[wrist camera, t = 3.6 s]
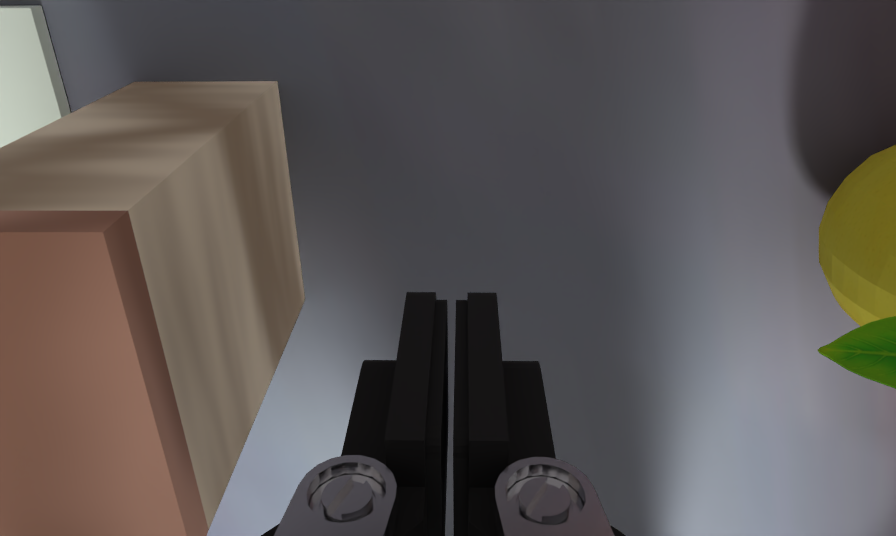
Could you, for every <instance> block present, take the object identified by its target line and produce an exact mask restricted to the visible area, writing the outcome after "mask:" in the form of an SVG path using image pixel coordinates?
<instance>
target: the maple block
mask: <svg viewBox="0 0 896 536" xmlns="http://www.w3.org/2000/svg"><path fill="white" fill-rule="evenodd" d="M304 301H305V294H304V287H303V279H302V271H301V263H300V255H299V247H298V239H297V231H296V223H295V215H294V208H293V200H292V192H291V184H290V176H289V168H288V160H287V152H286V144H285V137H284V129H283V121H282V113H281V105H280V97H279V89H278V81H206V82H133V83H131V84H129V85H127V86H125V87H123V88H121V89H119V90H117V91H115V92H113V93H111V94H109V95H107V96H105V97H103V98H101V99H99V100H97V101H94V102H92V103H90V104H88V105H86V106H84V107H82V108H80V109H78V110H76V111H74V112H72V113H70V114H68V115H66V116H64V117H62V118H60V119H58V120H56V121H54V122H52V123H50V124H48V125H46V126H44V127H42V128H40V129H38V130H36V131H34V132H32V133H30V134H28V135H25V136H23V137H21V138H19V139H17V140H15V141H13V142H11V143H9V144H7V145H5V146H3V147H1V148H0V536H206V535H207V533H208V530H209V528H210V526H211V523H212V521H213V518H214V516H215V514H216V511H217V509H218V506H219V504H220V502H221V499H222V497H223V495H224V492H225V490H226V487H227V485H228V483H229V480H230V478H231V475H232V473H233V471H234V468H235V466H236V464H237V461H238V459H239V456H240V454H241V452H242V449H243V447H244V444H245V442H246V440H247V437H248V435H249V432H250V430H251V428H252V425H253V423H254V421H255V418H256V416H257V413H258V411H259V409H260V406H261V404H262V401H263V399H264V397H265V394H266V392H267V390H268V387H269V385H270V382H271V380H272V378H273V375H274V373H275V370H276V368H277V366H278V363H279V361H280V358H281V356H282V354H283V351H284V349H285V347H286V344H287V342H288V339H289V337H290V335H291V332H292V330H293V327H294V325H295V323H296V320H297V318H298V316H299V313H300V311H301V308H302V306H303V304H304Z"/></svg>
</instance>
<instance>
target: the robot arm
mask: <svg viewBox="0 0 896 536" xmlns="http://www.w3.org/2000/svg"><path fill="white" fill-rule="evenodd" d="M447 451H448V329H447V300H436V292H407V295H406V301H405V308H404V314H403V321H402V327H401V334H400V340H399V347H398V353H397V360H364V362H363V364H362V367H361V371H360V376H359V380H358V384H357V389H356V393H355V398H354V402H353V406H352V411H351V415H350V420H349V424H348V428H347V433H346V437H345V441H344V446H343V450H342V455H341V456H340V457H335V458H331V459H329V460H327V461H325V462H323V463H320V464H318V465H317V466H316V467H314V468H313V469H312V470H311V471H309V472H308V473H307V474H306V475H305V477H304V478H303V479H302V481H301V482H300V484H299V485H298V487H297V489H296V491H295V493H294V495H293V497H292V500H291V502H290V504H289V506H288V508H287V510H286V512H285V514H284V516H283V518H282V520H281V522H280V524H278V525H277V526H275V527H274V528H272V529H271V530H269V531H267V532H266V533H264V534H263V535H261V536H445V514H446V482H447ZM453 481H454V536H625V535H624V534H622V533H621V532H620V531H618V530H617V529H615V528H614V527H612V526H611V525H610V524H609V522H608V519H607V517H606V515H605V512H604V510H603V507H602V505H601V503H600V500H599V498H598V496H597V493H596V491H595V489H594V487H593V485H592V484H591V482H590V481H589V479H588V477H587V476H586V475H585V474H583V473H582V472H581V471H580V470H579V469H577V468H576V467H574V466H572V465H570V464H568V463H566V462H564V461H562V460H558V459H556V457H555V452H554V446H553V440H552V434H551V428H550V422H549V416H548V410H547V404H546V398H545V392H544V386H543V380H542V374H541V368H540V364H539V362H538V361H502V352H501V340H500V329H499V317H498V305H497V294H496V293H468V300H456V336H455V384H454V434H453Z"/></svg>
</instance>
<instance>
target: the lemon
mask: <svg viewBox="0 0 896 536" xmlns="http://www.w3.org/2000/svg"><path fill="white" fill-rule="evenodd" d="M819 263H820V265H821V267H822V270H823V272H824V274H825V277H826V279H827V281H828V284H829V286H830V289H831V291H832V293H833V296H834V297H835V299H836V300H837V302H838V303H839V305H840V306H841V308H842V309H843V310H844V311H845V312H846V313H847V314H848V315H849V316H850V317H851V318H852V319H853V320H854V321H855V322H856V323H857V324H859V325H860V326H861V327H859V328H857V329H854V330H852V331H850V332H849V333H847V334H845V335H843V336H841V337H840V338H838V339H837V340H835V341H833V342H832V343H830V344H828V345H825V346H823V347H821V348H819V349H818V352H819V353H820V354H822V355H824V356H826V357H827V358H829V359H831V360H832V361H834V362H836V363H837V364H839V365H840V366H842V367H844V368H845V369H847V370H849V371H851V372H853V373H856V374H858V375H860V376H862V377H865V378H867V379H870V380H873V381H876V382H879V383H881V384H884V385H887V386H890V387H893V388H896V145H894V146H892V147H889V148H887V149H885V150H882V151H880V152H878V153H876V154H873V155H871V156H870V157H869V158H868V159H866V160H865V161H864V162H863V163H862V164H861V165H859V166H858V167H857V168H856V169H855V170H854V171H853V172H851V173H850V174H849V175H848V176H847V177H846V178H845V179H844V181H843V182H842V183H841V185H840V186H839V187H838V189H837V190H836V192H835V193H834V194H833V196H832V197H831V198H830V200H829V201H828V203H827V206H826V209H825V212H824V215H823V218H822V221H821V224H820V227H819Z"/></svg>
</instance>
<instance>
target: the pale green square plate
mask: <svg viewBox="0 0 896 536" xmlns="http://www.w3.org/2000/svg"><path fill="white" fill-rule="evenodd" d="M70 113H71V111H70V108H69V104H68V101H67V97H66V93H65V90H64V86H63V82H62V79H61V75H60V72H59V68H58V64H57V61H56V57H55V53H54V50H53V46H52V43H51V39H50V35H49V32H48V28H47V24H46V21H45V17H44V14H43V10H42V6H0V148H1V147H3V146H5V145H7V144H9V143H11V142H13V141H15V140H17V139H19V138H21V137H23V136H25V135H28V134H30V133H32V132H34V131H36V130H38V129H40V128H42V127H44V126H46V125H48V124H50V123H52V122H54V121H56V120H58V119H60V118H62V117H64V116H66V115H68V114H70Z"/></svg>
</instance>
